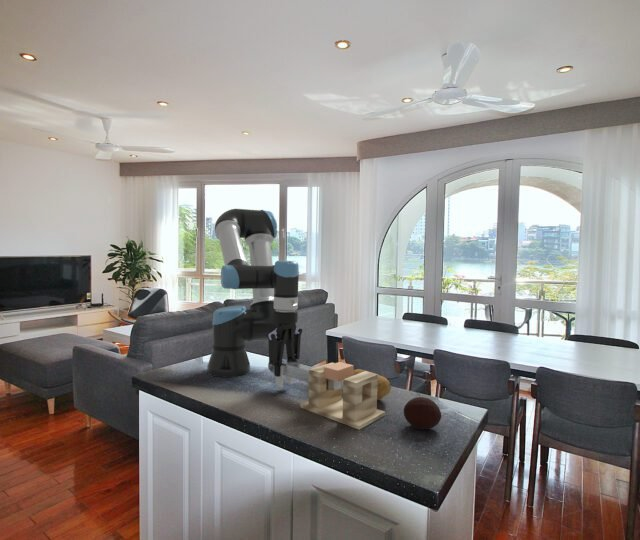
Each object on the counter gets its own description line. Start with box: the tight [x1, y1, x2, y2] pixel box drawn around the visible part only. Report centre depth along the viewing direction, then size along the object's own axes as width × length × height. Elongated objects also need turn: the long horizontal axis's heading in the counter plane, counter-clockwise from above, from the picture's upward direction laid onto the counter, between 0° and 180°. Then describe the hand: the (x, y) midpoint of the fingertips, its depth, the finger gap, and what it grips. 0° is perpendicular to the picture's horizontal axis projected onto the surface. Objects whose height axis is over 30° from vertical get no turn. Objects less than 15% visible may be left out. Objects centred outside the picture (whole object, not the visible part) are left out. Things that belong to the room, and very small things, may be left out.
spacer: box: [324, 361, 355, 382], centre depth 108 cm, size 5×7×3 cm
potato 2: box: [403, 396, 442, 431], centre depth 98 cm, size 8×9×8 cm
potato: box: [353, 368, 392, 401], centre depth 117 cm, size 10×14×8 cm
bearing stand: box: [300, 362, 386, 430], centre depth 107 cm, size 20×12×11 cm, turn 49°
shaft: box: [267, 358, 343, 391], centre depth 116 cm, size 26×5×5 cm, turn 49°
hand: (284, 384), depth 122 cm, fingers closed on shaft, 3 cm apart
